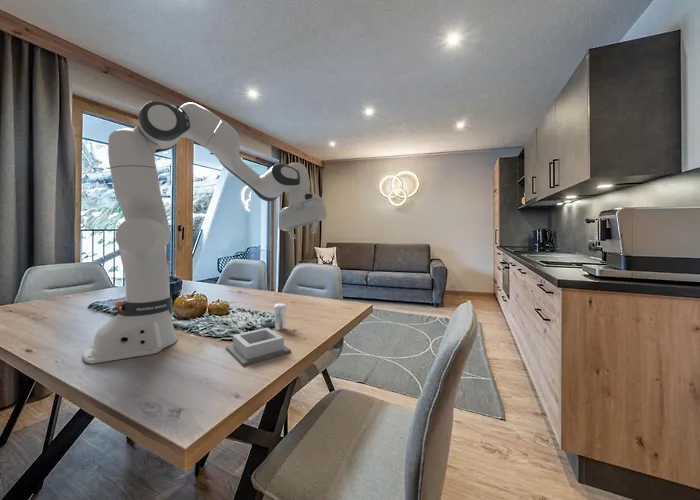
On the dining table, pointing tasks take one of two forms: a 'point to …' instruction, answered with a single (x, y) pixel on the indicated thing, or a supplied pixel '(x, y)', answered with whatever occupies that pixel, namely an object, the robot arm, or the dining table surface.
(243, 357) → the sleeve housing
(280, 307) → the milkshake
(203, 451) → the dining table surface
